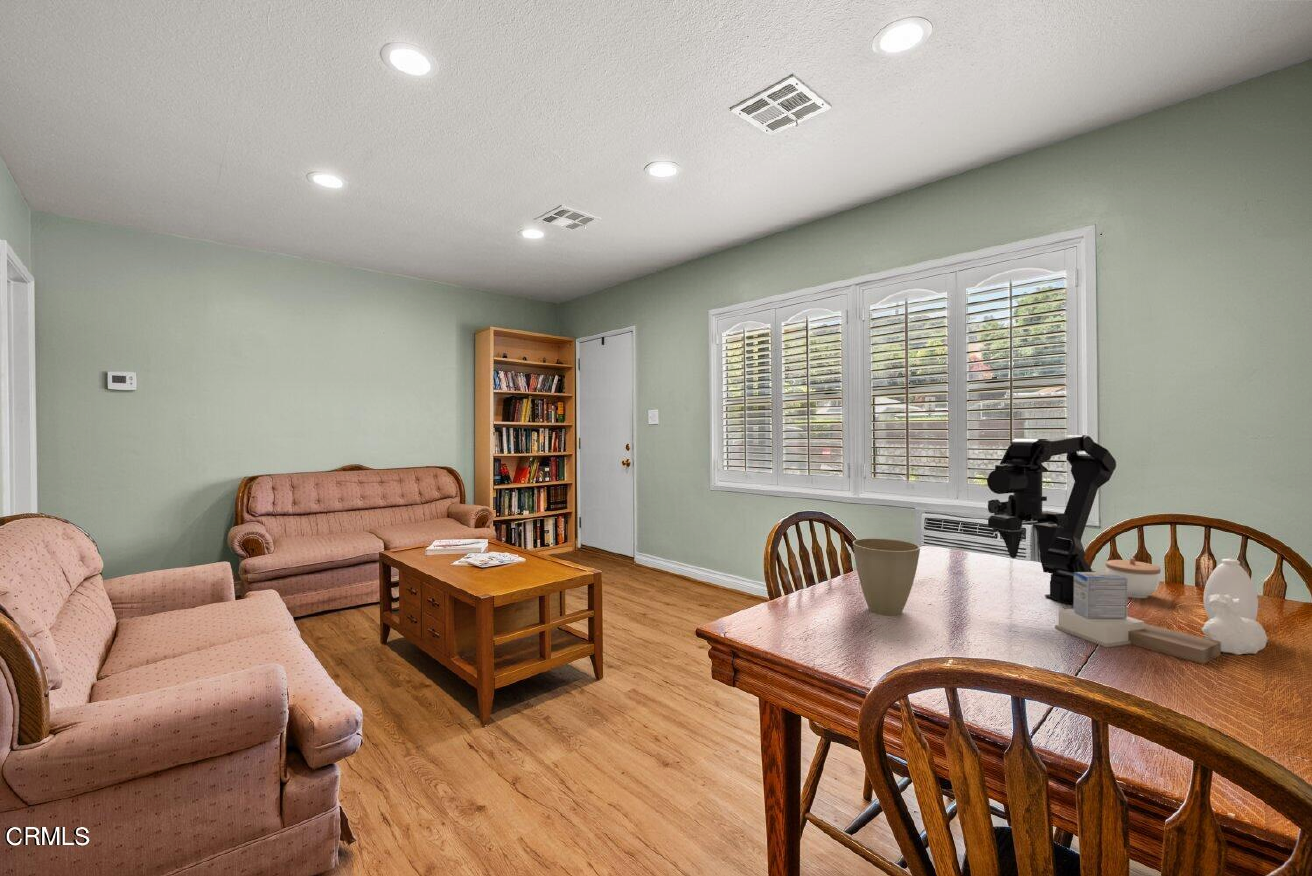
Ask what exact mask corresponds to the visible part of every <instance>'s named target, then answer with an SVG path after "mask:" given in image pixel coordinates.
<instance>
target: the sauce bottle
mask: <svg viewBox="0 0 1312 876" xmlns="http://www.w3.org/2000/svg"><path fill="white" fill-rule="evenodd" d="M1232 549H1233V548H1232V547H1229V552H1228V558H1222V559H1221V563H1220V564H1218V565H1217V566H1216V567H1215V568H1214V569H1213V570H1212V572H1211V574H1210V575H1209V577H1208V579H1207V581H1206V583H1205V586H1204V591H1203V598H1202V599H1203V600H1202V601H1203V607H1204V611H1205V613H1206V616H1207V618H1208V620H1210V619H1212V618H1215V617H1216V615H1217V612H1216V610H1213V611H1212V610H1211V608H1210V606H1209V604H1208V597H1209V596H1211V595H1213V594H1219V595H1224V596H1225V595H1230V597H1231V598H1233V599H1240V603H1241V604H1242V605H1244V608H1245V609H1244V610H1243V611H1241V613H1239V616H1240V617H1243V618H1247V619H1251V620H1254V621H1256V619H1257V617H1258V610H1259V601H1258V600H1259V599H1258V595H1257V592H1256V587H1255V584H1254V583H1253V581H1252V579H1251V578H1250V575H1249V573H1247V571H1246V570H1245V569H1244V568H1243V566H1241V565H1240V564H1241V562H1240V561H1239V560H1238V559H1233V550H1232Z"/></svg>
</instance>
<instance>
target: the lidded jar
mask: <svg viewBox="0 0 1312 876" xmlns="http://www.w3.org/2000/svg"><path fill="white" fill-rule="evenodd" d="M1105 569H1106V570H1105V572H1112V573H1115V574H1118V575H1121V576H1123V577H1125V578H1127V579H1128V587H1127V598H1134V599H1147V598H1149V596H1151V595H1152V594H1154V593H1155V592H1156V591H1157V589H1158V588H1159V584H1160V578H1161V567H1159V566H1158V565H1155V564H1152V563H1148V562H1143V561H1137V560H1136V558H1132V557H1130V558H1129V560H1127V559H1126V560H1125V559H1110V560H1106V561H1105Z"/></svg>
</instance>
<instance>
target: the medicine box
mask: <svg viewBox="0 0 1312 876" xmlns="http://www.w3.org/2000/svg"><path fill="white" fill-rule="evenodd" d="M1127 587H1128V579H1127V578H1125V577H1123V576H1121V575H1118V574H1115V573H1112V572H1106V571H1102V572H1101V571H1092V572H1075V573H1074V604H1073V609H1074V611H1075V612H1076V613H1078V614H1079V615H1081V616H1083V617H1085V618H1125V619H1126V618H1127V616H1128V597H1127Z"/></svg>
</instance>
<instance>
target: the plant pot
mask: <svg viewBox="0 0 1312 876" xmlns="http://www.w3.org/2000/svg"><path fill="white" fill-rule="evenodd" d="M852 548H853V554H854V561H855V567H856V572H857V575H858V579H859V582H860V587H861V590H862V593H863V597H864V600H865V602H866V604H867V608H868V610H869V611H871V613H872V612H873V613H875V614H878V615H884V616H898V615H901V614H902V613H903V611H904V608H905V606H906V604H907V602H908V599H909V597H910V593H911V591H912V588H913V584H914V581H915V577H916V572H917V568H918V565H919V558H920V550H921V546H920V545H918V544H917V543H914V542H910V541H905V540H900V539H891V538H873V537H871V538H859V539H855V540H853V541H852Z"/></svg>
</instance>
